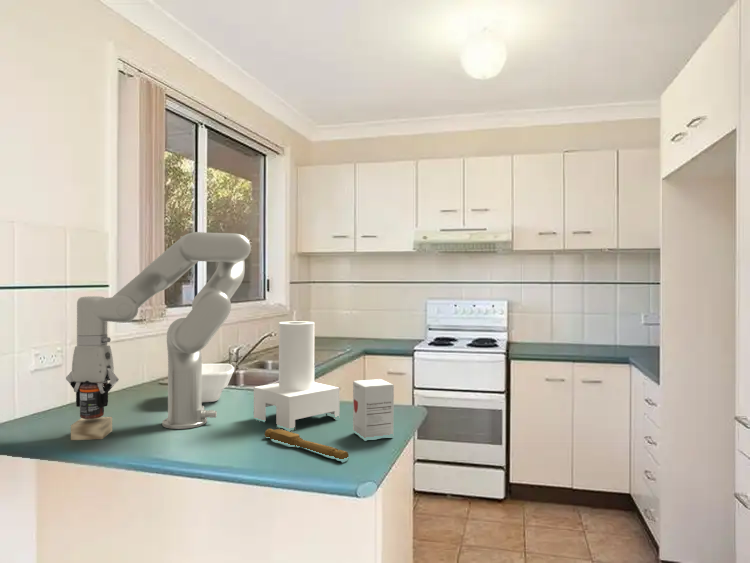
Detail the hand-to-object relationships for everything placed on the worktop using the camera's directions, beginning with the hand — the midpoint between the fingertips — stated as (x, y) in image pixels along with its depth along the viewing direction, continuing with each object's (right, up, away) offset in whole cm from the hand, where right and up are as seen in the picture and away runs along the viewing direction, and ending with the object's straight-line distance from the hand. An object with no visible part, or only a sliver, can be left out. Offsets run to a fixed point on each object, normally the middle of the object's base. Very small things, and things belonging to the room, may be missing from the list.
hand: (92, 405), depth 152 cm
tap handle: (+60, -9, -11) cm, 62 cm away
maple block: (0, -8, 0) cm, 8 cm away
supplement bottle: (0, -3, 0) cm, 3 cm away
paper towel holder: (+54, -9, +18) cm, 58 cm away
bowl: (+17, -8, +42) cm, 46 cm away
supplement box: (+78, -9, +1) cm, 78 cm away
